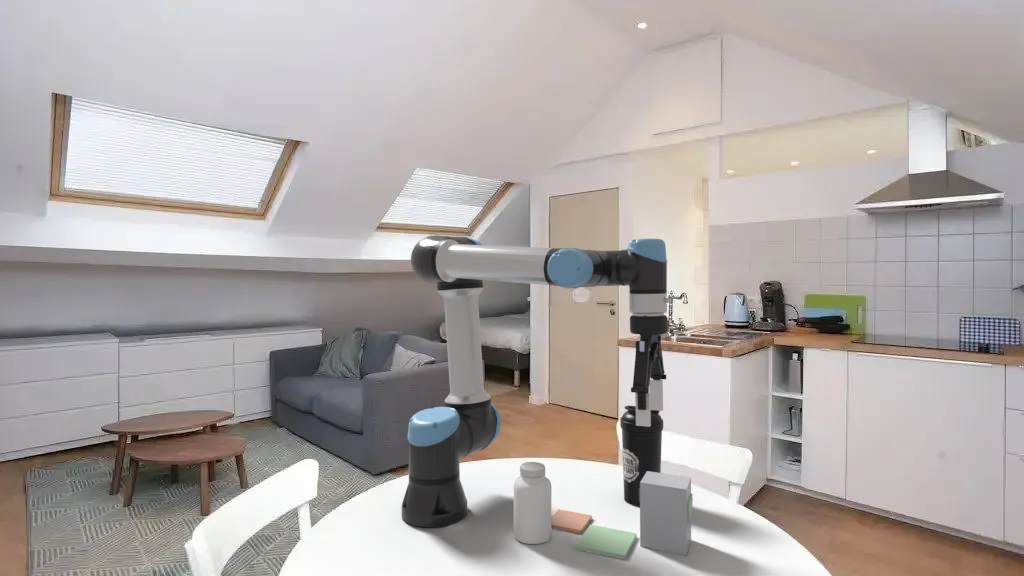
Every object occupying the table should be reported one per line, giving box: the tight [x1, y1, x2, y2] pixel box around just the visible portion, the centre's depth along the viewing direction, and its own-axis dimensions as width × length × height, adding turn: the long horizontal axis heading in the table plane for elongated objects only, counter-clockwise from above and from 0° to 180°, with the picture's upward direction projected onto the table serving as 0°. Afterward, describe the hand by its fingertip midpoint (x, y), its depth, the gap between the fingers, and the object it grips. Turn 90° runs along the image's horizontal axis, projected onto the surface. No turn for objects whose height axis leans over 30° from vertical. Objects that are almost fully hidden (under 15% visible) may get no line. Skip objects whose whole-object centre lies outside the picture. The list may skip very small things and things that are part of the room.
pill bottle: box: [513, 461, 552, 545], centre depth 116 cm, size 8×8×15 cm
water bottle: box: [619, 405, 664, 508], centre depth 134 cm, size 10×10×23 cm
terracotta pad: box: [551, 509, 593, 535], centre depth 122 cm, size 8×8×1 cm
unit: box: [639, 471, 694, 556], centre depth 113 cm, size 10×7×13 cm
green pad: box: [575, 523, 638, 560], centre depth 113 cm, size 10×10×1 cm
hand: (650, 417), depth 114 cm, fingers open, 13 cm apart
